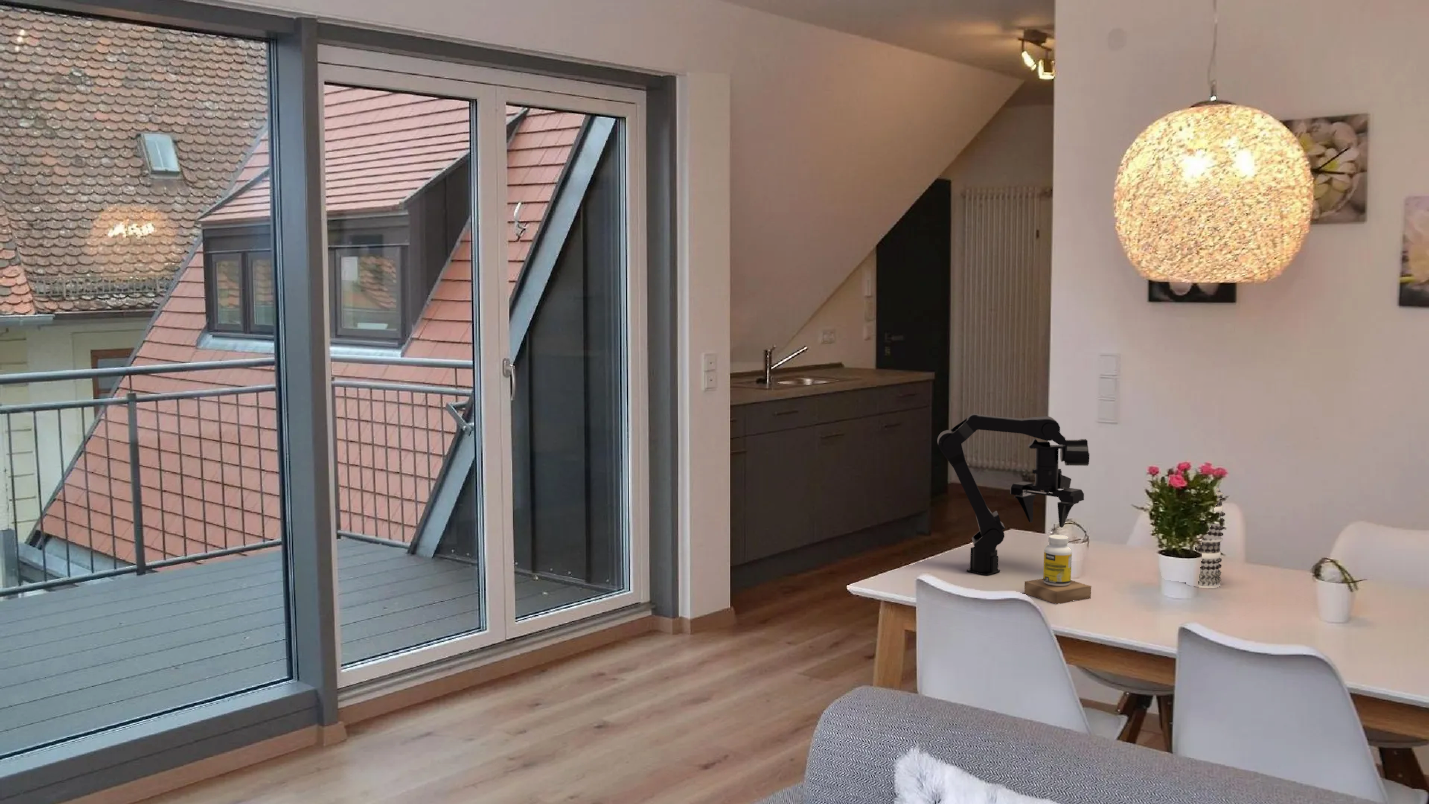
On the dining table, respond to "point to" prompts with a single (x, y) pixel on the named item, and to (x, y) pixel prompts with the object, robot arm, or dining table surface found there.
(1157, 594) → the dining table surface
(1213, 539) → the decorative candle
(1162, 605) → the dining table surface
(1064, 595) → the walnut plinth
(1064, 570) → the pill bottle
